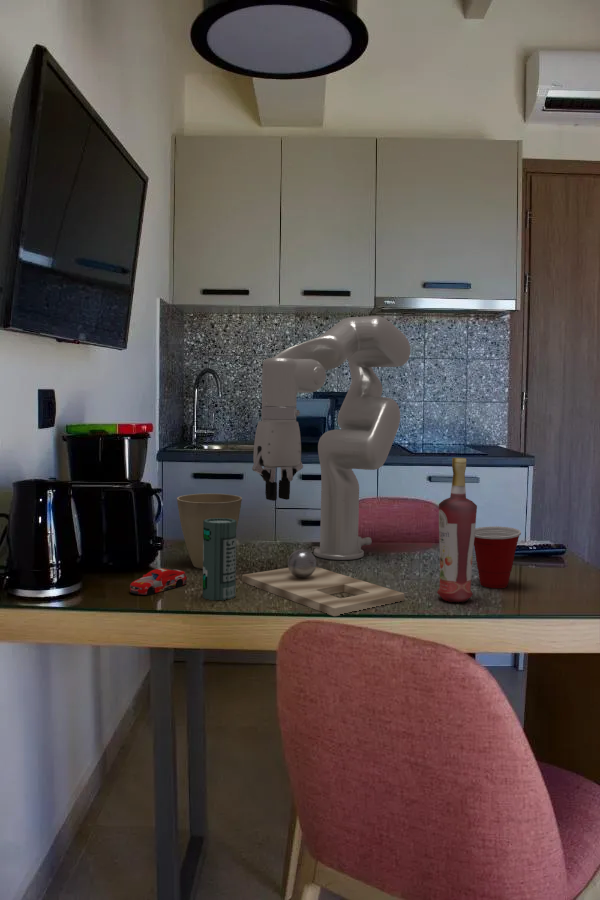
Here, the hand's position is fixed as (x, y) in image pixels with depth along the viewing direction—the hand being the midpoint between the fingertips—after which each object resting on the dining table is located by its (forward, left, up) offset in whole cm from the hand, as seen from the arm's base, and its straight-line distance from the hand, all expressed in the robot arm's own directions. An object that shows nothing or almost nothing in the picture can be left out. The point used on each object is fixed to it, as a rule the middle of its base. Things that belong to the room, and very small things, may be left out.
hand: (277, 498), depth 158 cm
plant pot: (+7, -17, -17) cm, 25 cm away
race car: (+26, -5, -18) cm, 32 cm away
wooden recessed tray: (0, +15, -17) cm, 23 cm away
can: (+19, +7, -17) cm, 27 cm away
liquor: (-18, +35, -17) cm, 43 cm away
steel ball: (0, +9, -13) cm, 16 cm away
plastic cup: (-34, +32, -17) cm, 50 cm away
